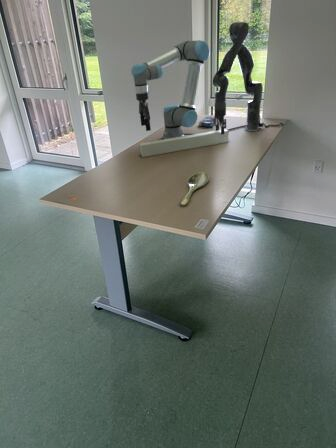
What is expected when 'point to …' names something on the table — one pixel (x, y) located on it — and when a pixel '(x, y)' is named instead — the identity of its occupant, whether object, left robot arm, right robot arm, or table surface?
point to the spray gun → (207, 121)
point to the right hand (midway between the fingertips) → (219, 132)
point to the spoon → (195, 184)
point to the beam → (183, 143)
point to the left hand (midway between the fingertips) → (145, 127)
